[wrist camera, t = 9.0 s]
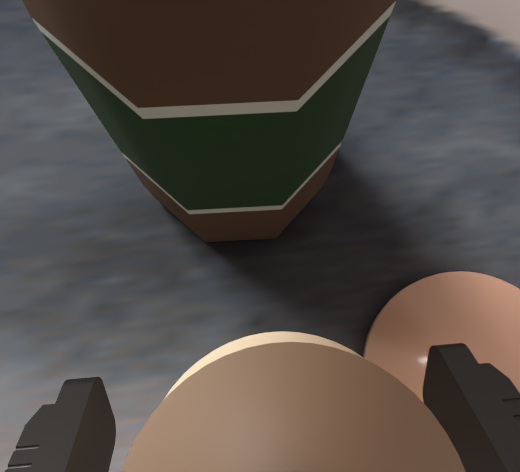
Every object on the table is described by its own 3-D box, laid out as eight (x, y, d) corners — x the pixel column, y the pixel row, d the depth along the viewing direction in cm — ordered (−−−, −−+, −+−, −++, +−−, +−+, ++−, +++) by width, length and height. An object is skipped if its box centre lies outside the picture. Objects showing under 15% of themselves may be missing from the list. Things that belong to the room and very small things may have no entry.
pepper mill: (197, 446, 17) (-54, 831, 3) (229, 329, 18) (136, 266, 4) (312, 479, 17) (542, 1042, 3) (338, 359, 18) (598, 388, 4)
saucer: (339, 453, 17) (342, 456, 17) (385, 251, 19) (389, 247, 19) (556, 520, 17) (567, 525, 16) (580, 304, 19) (590, 303, 18)
